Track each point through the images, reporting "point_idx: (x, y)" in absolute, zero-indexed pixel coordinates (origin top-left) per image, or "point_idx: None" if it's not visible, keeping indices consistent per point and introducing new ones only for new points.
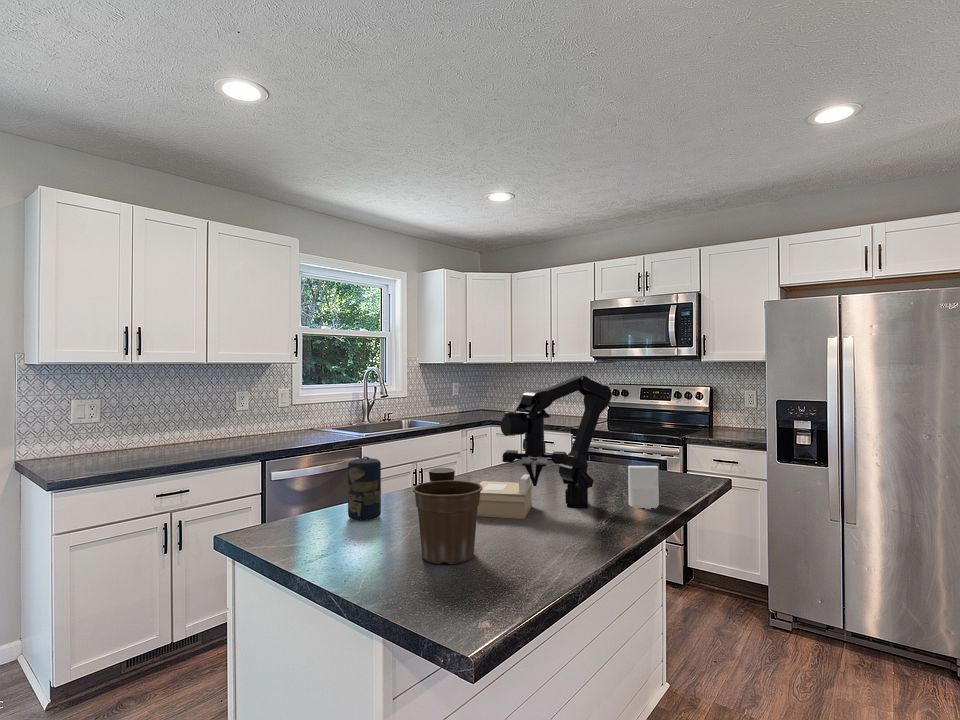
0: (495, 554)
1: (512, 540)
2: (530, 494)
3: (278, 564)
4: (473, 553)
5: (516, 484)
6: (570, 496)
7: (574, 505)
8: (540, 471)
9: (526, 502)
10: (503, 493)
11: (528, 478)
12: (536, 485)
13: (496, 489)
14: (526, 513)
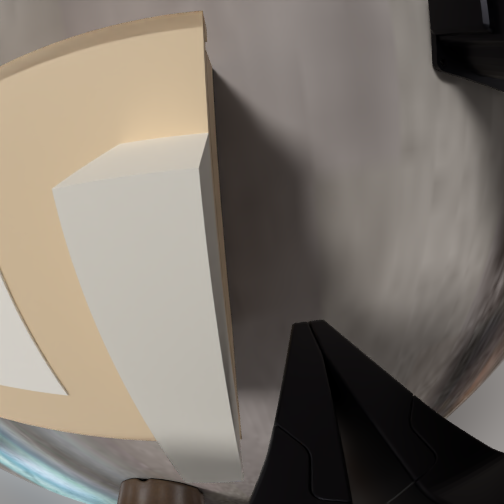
0: (232, 483)
1: (244, 454)
2: (212, 130)
3: (23, 479)
4: (203, 496)
5: (36, 166)
6: (484, 49)
7: (469, 72)
8: (435, 438)
9: (230, 331)
10: (113, 433)
11: (225, 373)
12: (321, 325)
13: (22, 377)
14: (228, 293)
